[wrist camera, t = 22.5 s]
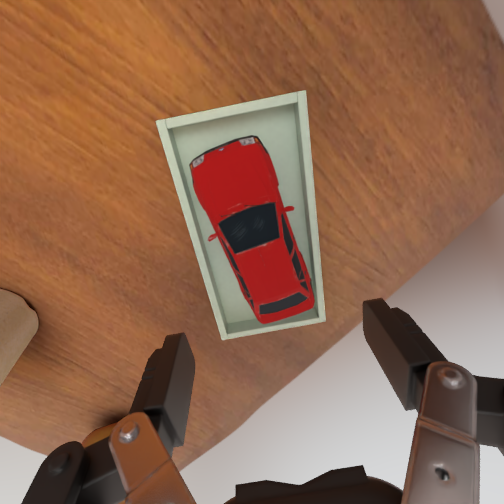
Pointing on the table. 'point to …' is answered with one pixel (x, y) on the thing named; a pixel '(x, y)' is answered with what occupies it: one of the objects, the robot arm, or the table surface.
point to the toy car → (253, 227)
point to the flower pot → (14, 329)
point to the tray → (290, 187)
